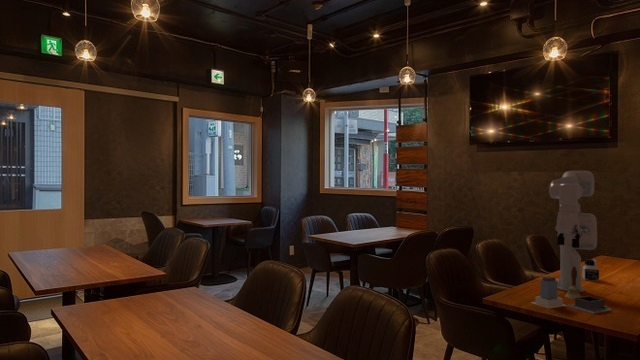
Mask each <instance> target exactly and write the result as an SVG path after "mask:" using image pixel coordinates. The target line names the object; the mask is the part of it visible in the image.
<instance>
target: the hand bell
mask: <svg viewBox="0 0 640 360" xmlns="http://www.w3.org/2000/svg"><path fill="white" fill-rule="evenodd" d="M571 277H572V286H571V287H569V289H568V291H567V293H566V294H565V295H564V297H565V298H567V299H571V300H575V298H578V297H582V296H581V292H579V288H577V287H576V277H577V270H576V267H573V268H572V270H571Z"/></svg>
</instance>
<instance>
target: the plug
mask: <svg viewBox="0 0 640 360" xmlns="http://www.w3.org/2000/svg"><path fill="white" fill-rule="evenodd" d="M557 286H558V283H557V281H556V277H555V276H550V275H549V276H548V275H546V276H542V279H541V280H540V296H541V298H543V299H547V300H551V299H557V297H558V288H557Z"/></svg>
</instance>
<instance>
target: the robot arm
mask: <svg viewBox="0 0 640 360" xmlns="http://www.w3.org/2000/svg"><path fill="white" fill-rule="evenodd" d="M548 193H549V196H550V198H551V199H555V200H556V199H557V200H558V201H559V208H558V210H559V211H558V213H557V217H556V225H555V226H554V231H555V233H556V237H557V246H559V252H560V255H559V256H560V264H559V265H560V267H559V268H560V271H559V272H560V275H559V276H560V278H555V280H556V281H557V290H560V291H564V292H568V289H569V287H571V286H572V277H571V270H572V268H573V267H576V270H577V277H576V287H577V288H579V293H583V292H585V288H584V287H582V286H581V285H582V257H581V255H580V254H579V252H578V251H577V250H585V251H586V250H587V251H588V250H589V251H593V250H595V249H596V248H597V246H598V225H597V224H598V223H597V218H596V217H597V216H595V215H594V214H593V213H589V212H588V213H586V212H581V205H580V203H579V202H578V201H579V199H580V198H582V197H588V198H589V197H591V196H593V195H594V193H595V176H594V174H593V172H592V171H589V170H568V171H565V172H564V173H563V174H562V176H561V178H557V179H554V180H552V181H551V183H550V184H549V189H548Z"/></svg>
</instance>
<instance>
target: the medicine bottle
mask: <svg viewBox="0 0 640 360" xmlns="http://www.w3.org/2000/svg"><path fill="white" fill-rule="evenodd" d="M597 263H598V260H596V259H593V258H586V259H584V265H583V266H582V279H583V280H584V281H589V282H599V281H600V269H599V268H598V266H597V265H598V264H597Z"/></svg>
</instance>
